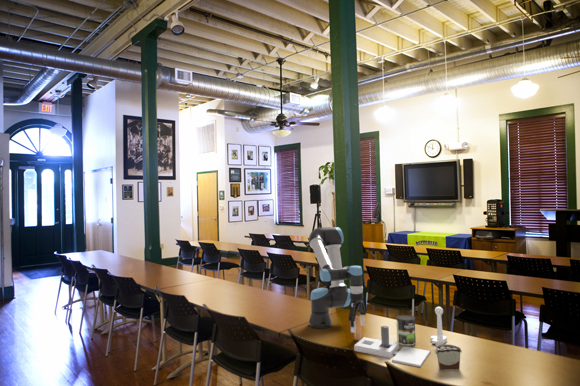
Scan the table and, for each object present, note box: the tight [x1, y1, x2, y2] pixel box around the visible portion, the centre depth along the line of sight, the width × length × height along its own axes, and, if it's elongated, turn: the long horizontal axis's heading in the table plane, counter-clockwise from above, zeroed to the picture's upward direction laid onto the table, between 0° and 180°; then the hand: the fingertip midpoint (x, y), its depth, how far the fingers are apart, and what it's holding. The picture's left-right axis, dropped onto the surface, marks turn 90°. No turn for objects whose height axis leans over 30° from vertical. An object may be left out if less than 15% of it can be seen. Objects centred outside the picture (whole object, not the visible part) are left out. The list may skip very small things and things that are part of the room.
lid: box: [391, 345, 431, 368], centre depth 200 cm, size 16×20×1 cm
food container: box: [434, 343, 463, 372], centre depth 186 cm, size 12×6×10 cm, turn 92°
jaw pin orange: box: [353, 315, 363, 342], centre depth 227 cm, size 4×4×13 cm
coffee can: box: [395, 314, 417, 347], centre depth 220 cm, size 10×10×14 cm
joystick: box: [430, 306, 448, 347], centre depth 219 cm, size 11×8×20 cm
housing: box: [353, 336, 400, 359], centre depth 211 cm, size 20×14×3 cm
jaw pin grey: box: [380, 325, 390, 348], centre depth 208 cm, size 4×4×13 cm
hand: (358, 329), depth 227 cm, fingers open, 13 cm apart
